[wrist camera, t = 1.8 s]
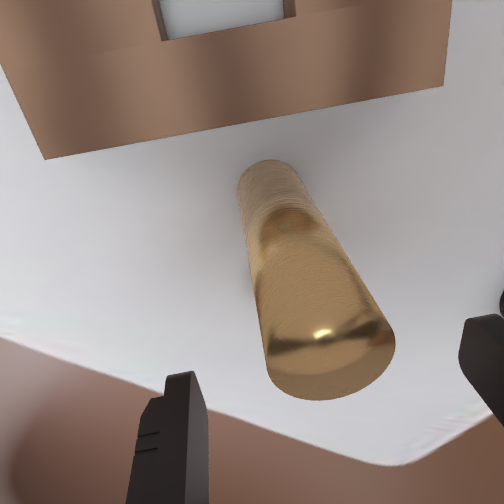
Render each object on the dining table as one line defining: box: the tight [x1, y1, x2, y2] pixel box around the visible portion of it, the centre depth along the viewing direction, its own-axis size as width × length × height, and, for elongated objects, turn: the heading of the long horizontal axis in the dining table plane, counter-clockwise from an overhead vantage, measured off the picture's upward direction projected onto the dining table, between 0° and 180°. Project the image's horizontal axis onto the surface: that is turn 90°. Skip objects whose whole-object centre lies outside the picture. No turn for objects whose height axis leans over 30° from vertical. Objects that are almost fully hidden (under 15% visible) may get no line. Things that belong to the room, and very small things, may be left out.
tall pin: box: [238, 160, 395, 401], centre depth 17 cm, size 4×4×14 cm
